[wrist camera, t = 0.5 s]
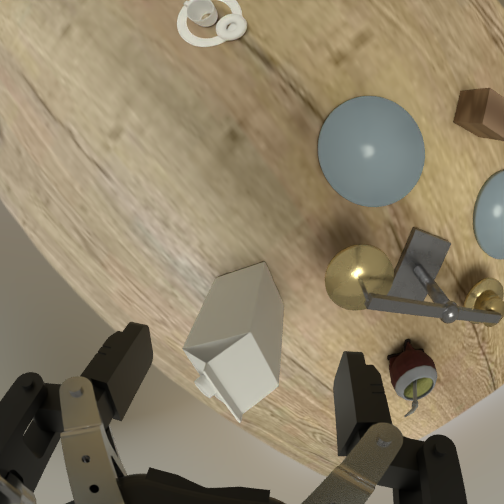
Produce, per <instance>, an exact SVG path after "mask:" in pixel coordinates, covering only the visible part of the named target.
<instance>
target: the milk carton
mask: <svg viewBox="0 0 504 504" xmlns="http://www.w3.org/2000/svg"><path fill="white" fill-rule="evenodd" d="M283 316H284V304H283V301H282V299H281V297H280V295H279V292H278V290H277V288H276V285H275V283H274V281H273V278H272V276H271V274H270V271H269V269H268V267H267V265H266V263H265V262H262V263H259V264H256V265H253V266H250V267H247V268H244V269H241V270H238V271H235V272H232V273H229V274H226V275H223V276H220V277H217V278H216V279H215V281H214V283H213V285H212V287H211V289H210V291H209V293H208V295H207V297H206V299H205V302H204V304H203V306H202V308H201V310H200V312H199V314H198V316H197V318H196V321H195V323H194V325H193V327H192V329H191V331H190V333H189V335H188V338H187V340H186V342H185V344H184V346H183V350H184V352H185V354H186V355H187V357H188V358H189V360H190V361H191V363H192V364H193V366H194V367H195V368H196V370H197V371H198V373H199V374H200V377H199V378H197V379H196V380H195V381H194V382H195V384H196V386H197V387H198V389H199V390H200V391H201V392H202V393H203V394H204V395H205V396H207V397H209V398H211V397H212V396H213V395H215V397H216V398H217V399H219V400H220V401H222V402H223V403H225V405H226V406H227V407H228V409H229V410H230V411H231V413H232V414H233V415H234V417H235V418H236V419H237V421H238V422H241V420H242V415H243V413H245V412H246V411H247V410H249V409H250V408H251V407H253V406H254V405H255V404H257V403H258V402H259V401H260V400H262V399H263V398H264V397H265V396H267V395H268V394H269V393H271V392H272V391H273V390H274V389H276V388H277V387H278V386H279V374H280V361H281V347H282V332H283Z"/></svg>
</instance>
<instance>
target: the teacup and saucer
mask: <svg viewBox="0 0 504 504" xmlns="http://www.w3.org/2000/svg"><path fill="white" fill-rule="evenodd" d="M219 1H222V2H224V3H226V4H227V5H228V6H229V7H230V9H231V11H232V14H228V15H226V16H224V17H222V18H221V19H220V20H219V21H218V23H217V25H216V32H217V35H218V36H216V37H213V38H207V39H205V38H199V37H196V36H194V35H193V34H192V33H191V32H190V31H189V30H188V28H187V24H186V20H187V16H188V18H189V19H191V20H192V21H193V22H195V23H196V24H198V25H200V26H203V27H209V26H212V25H213V24H215V22H216V21H217V18H218V14H217V10H216V8H215V6H214V4H213V3H212V2H211V1H210V0H190V1H186V2H184V6H183V8H182V9H181V11H180V13H179V15H178V19H177V28H178V32H179V34H180V35H181V37H182V38H183V39H184V40H185V41H186V42H188V43H190V44H192V45H194V46H199V47H211V46H215V45H218V44H221V43H223V42H225V41H227V40H236V39H238V38H240V37H241V36H242V35H243V34H244V33H245V32H246V29H247V22H246V20H245V18H244V17H242V11H241V8H240V5H239V4H238V2H237V1H236V0H219ZM207 13H211V15H210V16H209V17H207V18H206V19H203V20H201V18H202V16H203V15H205V14H207ZM230 23H231V24H230ZM229 24H230V26H229V27H228V29H226V28H227V25H229Z"/></svg>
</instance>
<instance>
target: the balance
mask: <svg viewBox="0 0 504 504" xmlns="http://www.w3.org/2000/svg"><path fill="white" fill-rule="evenodd" d="M450 245H451V243H450V242H449V241H447V240H445V239H442V238H440V237H437V236H435V235H432V234H430V233H427V232H425V231H422V230H419V229H417V228H414V227H413V229H412V231H411V234H410V236H409V239H408V241H407V243H406V246H405V248H404V250H403V253H402V255H401V257H400V260H399V262H398V264H397V266H396V268H395V271H393V266H392V264H391V262H390V260H389V258H388V257H387V255H386V254H385V253H384V252H383V251H381V250H380V249H378V248H377V247H374V246H371V245H366V244H358V245H353V246H350V247H347V248H345V249H343V250H342V251H340V252H339V253H338V254H336V255H335V256H334V257H333V259H332V260H331V261H330V263H329V265H328V267H327V270H326V273H325V286H326V290H327V293H328V295H329V297H330V298H331V299H332V301H333V302H334V303H336V304H337V305H338V306H340V307H342V308H345V309H348V310H364V309H371V310H378V311H386V312H394V313H402V314H410V315H419V316H427V317H436V318H440V319H441V320H442V321H443V322H445V323H452V322H454V321H455V320H465V321H469V322H471V323H474V324H479V323H484V325H485V326H487V327H492V326H494V325H496V324H497V323H498V322H500V320H501V319H502V318H503V316H504V302H503V301H502V300H503V294H504V293H503V287H502V285H501V283H500V282H499V281H498V280H496V279H495V278H485V279H483V280H481V281H479V282H478V283H477V284H475V285H474V286H473V287H472V289H471V290H470V291H469V293H468V294H467V296H466V299H465V301H464V306H463V307H458V305H457V304H456V303H455V302H453V301H450V300H449V299H448V298H447V296H446V295H445V294H444V292H443V291H442V290H441V289H440V287H439V286H438V285H437V283H436V282H435V281H434V279H435V277H436V275H437V273H438V271H439V269H440V267H441V265H442V263H443V261H444V258H445V256H446V254H447V252H448V250H449V247H450ZM427 293H428V295H429V296H430V298H431V299H432V300H433V302H434V303H432V302H425V301H424V299H425V297H426V295H427Z"/></svg>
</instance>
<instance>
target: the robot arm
mask: <svg viewBox="0 0 504 504" xmlns="http://www.w3.org/2000/svg"><path fill="white" fill-rule="evenodd" d="M152 359H153V350H152V344H151V338H150V331H149V327H148V326H147V325H144V324H139V323H134V322H130V323H129V324H128V325H127V326H126V328H125V329H124V330H123V332H120V331H117V332H116V333H114V334H113V335H111V336H110V337H108V339H107V340H106V341H105V343H104V344H103V347H101V348H100V349H99V351H98V353H97V354H96V355H95V356H94V358H93V359H92V360H91V362H90V363H89V365H88V366H87V367H86V369H85V370H84V372H83V373H82V374H81V376H75V377H71V378H68V379H66V380H65V381H64V382H63V383H62V384H49V383H44V382H43V380H42V378H41V376H40V375H39V374H37V373H33V372H29V373H25V374H22V375H21V376H19V377H18V378H17V380H16V381H15V382H14V383H13V385H12V386H11V387H10V389H9V391H8V392H7V393H6V394H5V396H4V397H3V399H2V400H1V401H0V504H36V498H35V495H34V494H33V493H34V490H35V488H36V486H37V484H38V482H39V480H40V478H41V476H42V473H43V471H44V469H45V467H46V465H47V463H48V461H49V459H50V457H51V455H52V453H53V451H54V449H55V447H56V445H57V443H58V442H59V440H60V438H61V443H62V449H63V455H64V460H65V465H66V470H67V474H68V478H69V483H70V487H71V491H72V495H73V498H74V500H73V501H71V502H68V503H66V504H285V503H283V502H281V501H280V500H277V499H275V498H272V497H269V495H270V490H263V489H254V488H246V487H226V488H205V487H203V486H200V485H198V484H196V483H194V482H191V481H189V480H187V479H185V478H183V477H181V476H179V475H176V474H172V473H168V472H164V471H161V470H157V469H154V468H149V470H148V473H147V474H133V475H127V473H126V471H125V469H124V466H123V464H122V462H121V459H120V456H119V453H118V450H117V447H116V444H115V441H114V437H113V434H112V431H111V427H110V425H109V424H110V422H111V420H112V418H113V419H116V420H119V421H122V420H123V418H124V416H125V414H126V412H127V410H128V408H129V406H130V404H131V402H132V400H133V398H134V396H135V394H136V392H137V390H138V389H139V387H140V385H141V383H142V381H143V379H144V377H145V375H146V374H147V371H148V370H149V368H150V366H151V363H152ZM333 392H334V404H335V416H336V430H337V446H338V456H347V457H346V458H345V459H344V460H343V462H342V463H341V464H340V465H339V466H337V467H336V468H335V469H334V470H333V471H332V472H331V473H330V474H329V475H328V477H327V478H326V479H325V480H324V481H323V482H322V483H321V484H320V485H319V486H318V487H317V488H316V489H315V490H314V491H313V493H312V494H311V495H310V496H309V497H308V498H307V499H306V500H305V501H304V502H303V503H302V504H364V503H365V502H366V501H367V499H368V498H369V497H370V495H371V494H372V492H373V491H374V489H375V486H376V485H380V486H385V487H390V488H393V501H394V504H467V499H466V494H465V488H464V483H463V478H462V473H461V468H460V464H459V459H458V455H457V451H456V447H455V445H454V443H453V442H452V440H450V439H449V438H448V437H446V436H444V435H433V436H430V437H429V438H428V439H427V440H426V441H425V442H424V441H419V440H414V439H410V438H406V437H404V436H403V435H402V433H401V431H400V430H399V429H398V428H397V427H396V426H394V425H393V424H392V421H391V416H390V412H389V408H388V403H387V399H386V395H385V391H384V387H383V383H382V379H381V375H380V373H379V372H378V371H377V369H376V368H375V367H374V365H366V363H365V359H364V355H363V353H362V352H349V351H344V352H343V355H342V358H341V361H340V364H339V367H338V370H337V373H336V376H335V380H334V387H333ZM32 419H33V421H32V422H31V420H32ZM30 422H31V424H30ZM29 424H30V426H29V427H28V425H29ZM27 427H28V429H27ZM26 429H27V431H26V432H25V430H26ZM24 432H25V434H24ZM23 435H24V436H23Z"/></svg>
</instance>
